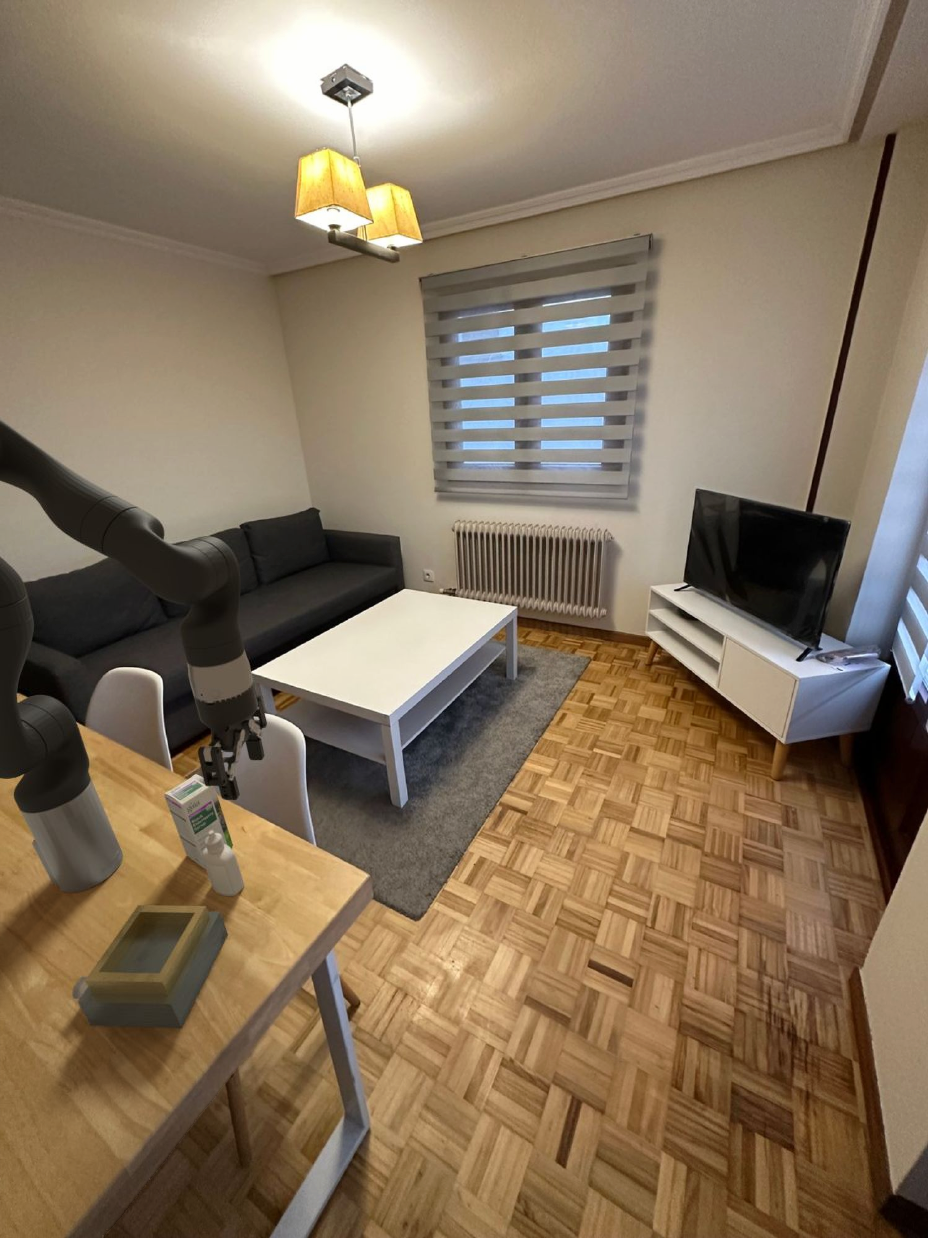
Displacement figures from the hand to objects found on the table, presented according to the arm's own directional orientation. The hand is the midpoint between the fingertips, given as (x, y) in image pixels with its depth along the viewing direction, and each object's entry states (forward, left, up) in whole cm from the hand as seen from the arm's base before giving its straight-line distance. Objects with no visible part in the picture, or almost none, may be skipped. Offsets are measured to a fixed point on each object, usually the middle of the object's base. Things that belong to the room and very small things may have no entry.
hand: (245, 777), depth 72 cm
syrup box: (-14, +6, -22) cm, 26 cm away
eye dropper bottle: (-7, -1, -22) cm, 23 cm away
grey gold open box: (-10, -15, -22) cm, 28 cm away
